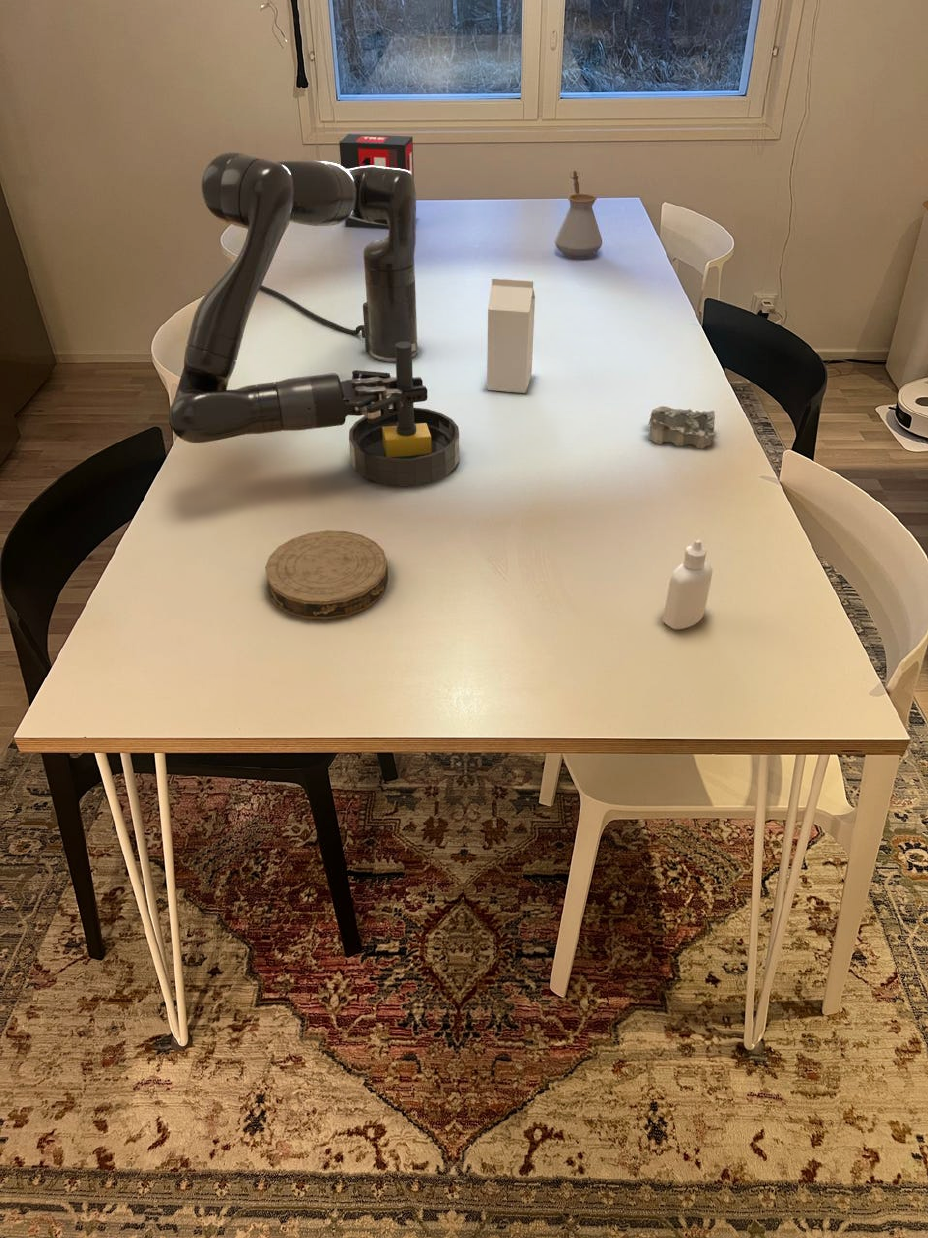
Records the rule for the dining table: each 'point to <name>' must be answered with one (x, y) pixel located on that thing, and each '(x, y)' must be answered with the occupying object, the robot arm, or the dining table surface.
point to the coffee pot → (579, 227)
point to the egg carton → (681, 426)
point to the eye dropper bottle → (688, 589)
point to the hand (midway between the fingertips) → (423, 388)
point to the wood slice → (327, 574)
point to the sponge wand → (406, 415)
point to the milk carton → (510, 335)
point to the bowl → (404, 470)
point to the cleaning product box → (376, 158)
